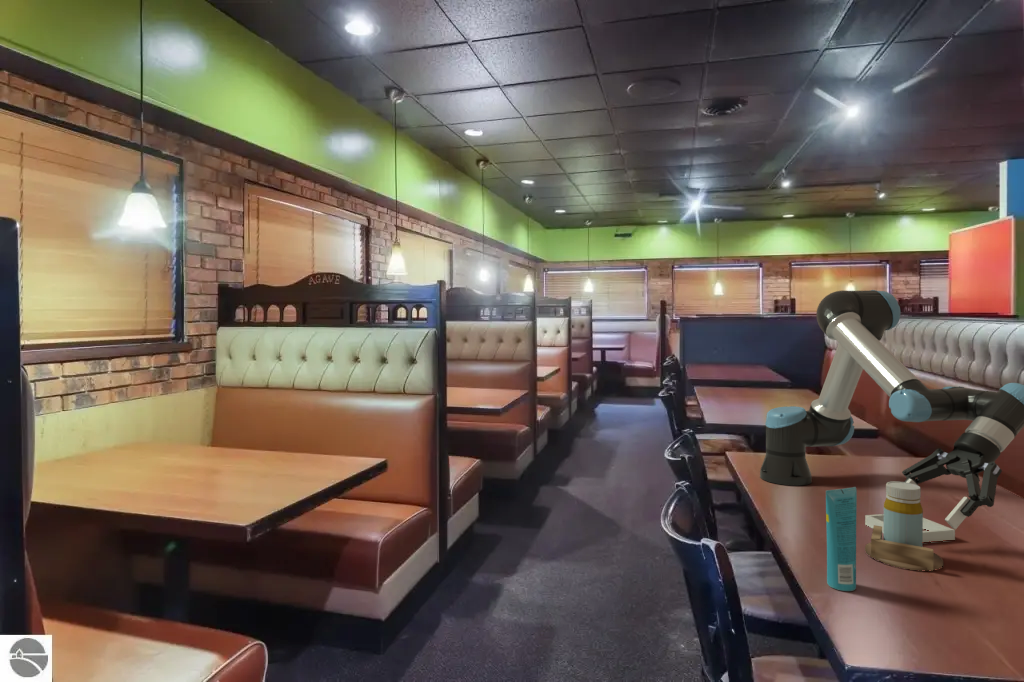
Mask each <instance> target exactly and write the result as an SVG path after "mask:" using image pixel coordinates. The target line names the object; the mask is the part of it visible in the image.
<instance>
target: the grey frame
mask: <svg viewBox="0 0 1024 682" xmlns="http://www.w3.org/2000/svg"><path fill="white" fill-rule="evenodd" d="M864 517H865V520H864V523H865V524H864V525H865V526H866V525H867V526H866V527H868V526H869V527H868V528H871V529H873V527H874V525H876V526H882V534H883V531H884V513H882V514H881V513H880V514H879V513H878V514H866V515H864ZM924 529H926V530H924ZM927 530H929V531H927ZM943 540H955V541H956V529H953V528H952V527H949V526H946V525H943V524H941V523H938V522H936V521H934V520H930V519H927V518H925V517H923V541H922V542H929V541H930V542H931V541H943ZM943 542H944V541H943ZM931 543H932V542H931Z"/></svg>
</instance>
